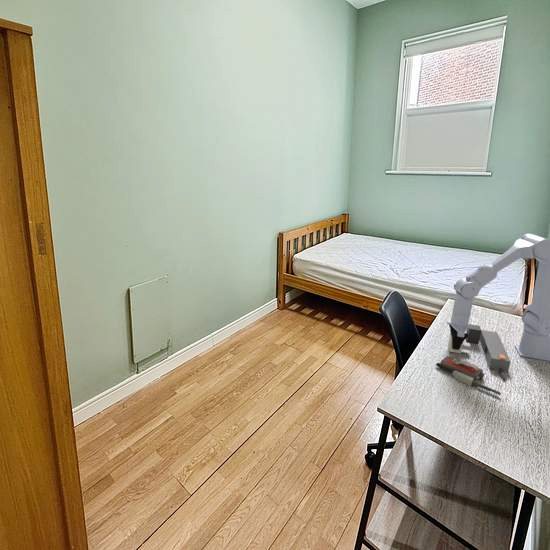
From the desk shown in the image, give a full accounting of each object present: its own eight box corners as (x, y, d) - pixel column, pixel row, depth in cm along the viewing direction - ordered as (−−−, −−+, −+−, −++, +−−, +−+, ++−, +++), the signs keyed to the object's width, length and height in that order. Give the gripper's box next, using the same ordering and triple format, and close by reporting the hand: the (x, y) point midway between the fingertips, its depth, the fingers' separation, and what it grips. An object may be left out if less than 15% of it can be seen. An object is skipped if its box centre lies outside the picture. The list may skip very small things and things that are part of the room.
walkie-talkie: (432, 370, 119) (498, 399, 105) (434, 358, 118) (501, 387, 104) (443, 360, 125) (508, 387, 111) (445, 349, 123) (511, 375, 109)
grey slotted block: (495, 341, 138) (498, 327, 136) (512, 382, 113) (516, 365, 111) (465, 336, 141) (467, 323, 139) (475, 375, 116) (478, 358, 114)
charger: (467, 349, 132) (470, 335, 130) (469, 355, 128) (472, 340, 126) (447, 345, 134) (450, 331, 132) (448, 351, 130) (451, 337, 128)
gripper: (447, 302, 134) (441, 335, 138) (450, 318, 121) (444, 353, 126) (468, 305, 132) (461, 338, 136) (474, 321, 119) (466, 357, 123)
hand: (454, 345), depth 131 cm, fingers closed on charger, 4 cm apart
